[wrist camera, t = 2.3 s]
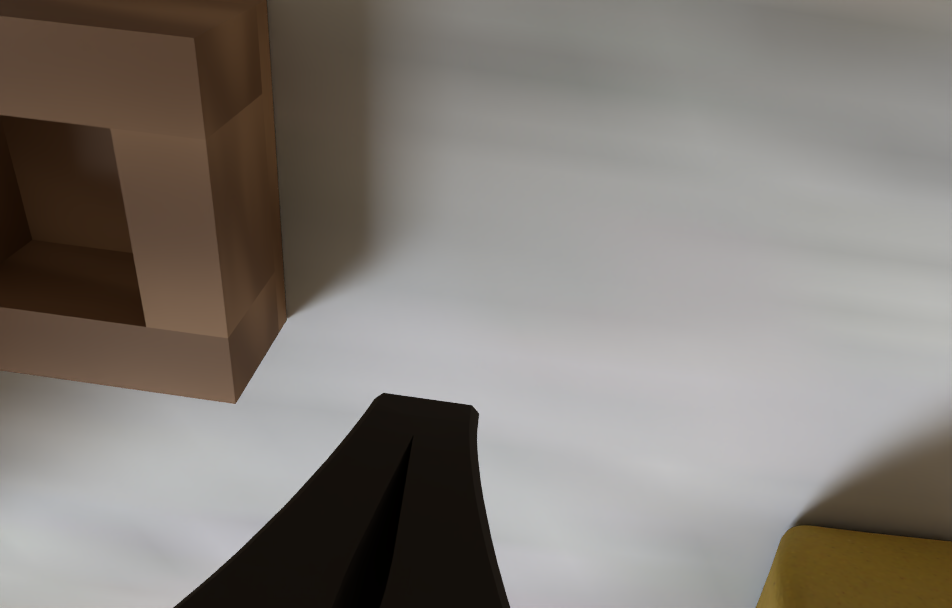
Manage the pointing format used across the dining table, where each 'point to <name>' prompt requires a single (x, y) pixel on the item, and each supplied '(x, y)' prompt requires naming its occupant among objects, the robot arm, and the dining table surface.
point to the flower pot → (857, 571)
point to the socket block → (139, 194)
